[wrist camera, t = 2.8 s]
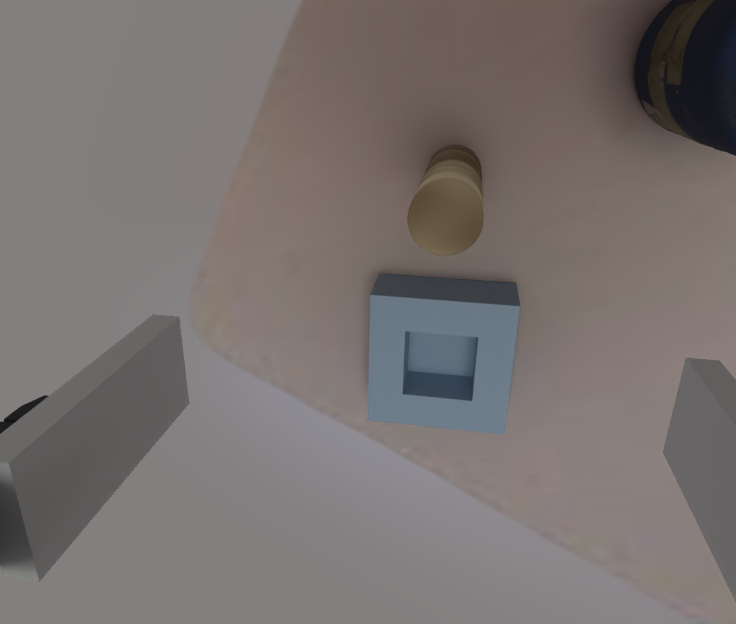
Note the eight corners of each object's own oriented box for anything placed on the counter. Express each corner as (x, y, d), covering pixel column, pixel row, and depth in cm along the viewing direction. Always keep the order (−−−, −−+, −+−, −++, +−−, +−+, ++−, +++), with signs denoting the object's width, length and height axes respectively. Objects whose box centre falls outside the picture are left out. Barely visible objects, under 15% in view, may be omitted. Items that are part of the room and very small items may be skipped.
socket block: (379, 273, 50) (370, 294, 45) (516, 283, 48) (520, 306, 43) (377, 389, 54) (367, 420, 49) (502, 402, 52) (504, 434, 48)
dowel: (429, 144, 45) (409, 179, 31) (483, 146, 44) (486, 183, 31) (426, 197, 47) (405, 253, 33) (478, 200, 46) (479, 257, 32)
